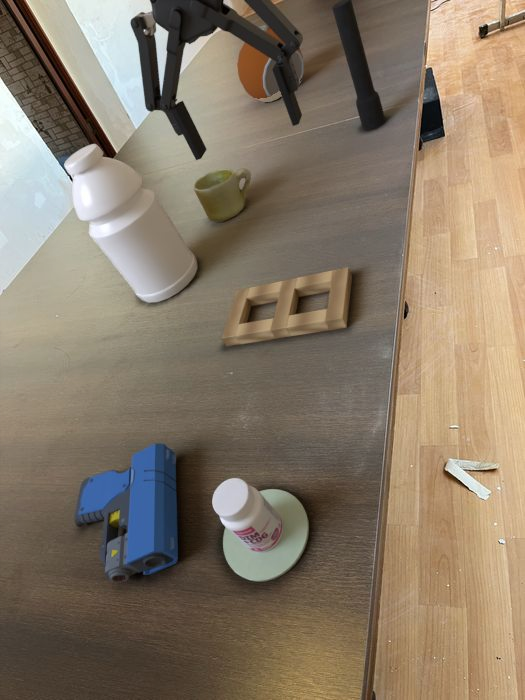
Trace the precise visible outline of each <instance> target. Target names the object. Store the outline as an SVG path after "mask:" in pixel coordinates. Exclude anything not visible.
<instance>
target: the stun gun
mask: <svg viewBox="0 0 525 700" xmlns="http://www.w3.org/2000/svg"><path fill="white" fill-rule="evenodd" d="M176 466H177V456H176V452H175V451H173V450H172V449H171V448H170V447H169V446H167V445H166V444H165V443H154V444H151V445H150V446H148V447H146V448H143V449H142V450H140V451H138V452H136V453H134V454H132V457H131V466H130V468H128V469H127V470H126V471H124V472H120V471H118V470H116V469H115V470H114V469H113V470H108V471H105V472H101V473H98V474H96V475H95V474H94V475H92V476H89V477H86V478H85V479H83V481H82V482H81V484H80V487H79V492H78V496H77V501H76V508H75V512H74V519H73V521H74V524H75V526H76V527H78V528H82V527H83V526H84V525H86V524H89V523H94V522H99V521H103V528H102V529H103V530H102V539H101V544H100V545H99V555H98V556H99V557H98V558H99V561H100V562H101V563H102V565H104V566H105V567H104V576H105V577H106V578H107V579H110V581H112V582H113V583H123V582H124V583H125V582H126V581H128V580H129V579H130V577H131V576H133V575H135V574H136V573H137V574H138V573H139V574H140V573H141V572H142V574H143V576H146V575H148V576H149V575H150V576H151V575H152V574H155V573H157V572H159V571H162V570H164V569H166V568H169V567H171V566H173V565H175V564H177V562H178V559H179V555H178V554H179V548H178V547H179V546H178V545H179V544H178V505H177V504H178V502H177V501H178V500H177V482H176V481H177V467H176ZM120 527H121V528H122V529H125V530H126V533H124V535H120V536H119V530H120V529H119V528H120Z"/></svg>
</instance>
